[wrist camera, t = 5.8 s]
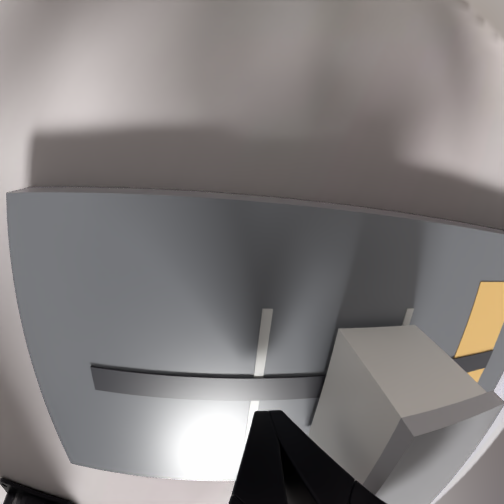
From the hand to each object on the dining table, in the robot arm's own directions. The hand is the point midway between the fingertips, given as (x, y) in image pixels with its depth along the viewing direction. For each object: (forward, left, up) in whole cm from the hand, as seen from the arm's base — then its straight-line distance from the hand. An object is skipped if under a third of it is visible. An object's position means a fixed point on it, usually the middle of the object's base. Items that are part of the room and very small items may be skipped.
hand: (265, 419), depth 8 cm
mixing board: (+3, 0, -3) cm, 4 cm away
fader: (+4, 0, -1) cm, 4 cm away
